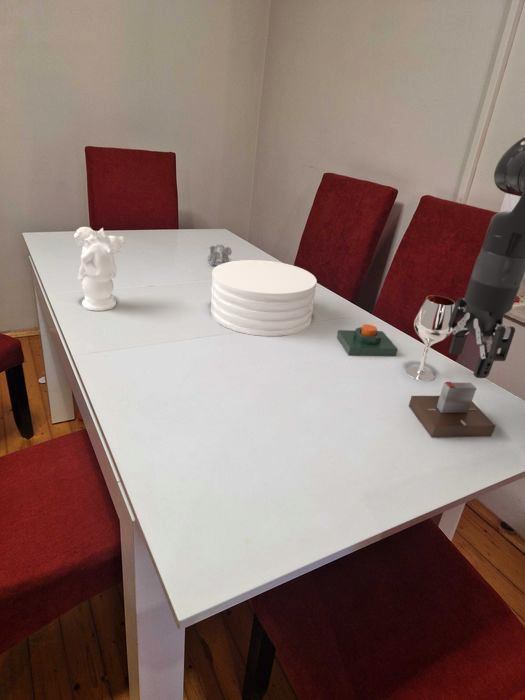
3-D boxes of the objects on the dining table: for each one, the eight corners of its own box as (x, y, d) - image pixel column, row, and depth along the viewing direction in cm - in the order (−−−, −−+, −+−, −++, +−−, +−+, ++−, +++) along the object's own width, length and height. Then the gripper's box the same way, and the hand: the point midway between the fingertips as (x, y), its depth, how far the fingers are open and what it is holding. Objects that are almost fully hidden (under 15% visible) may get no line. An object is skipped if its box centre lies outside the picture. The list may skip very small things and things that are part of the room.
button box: (380, 338, 119) (383, 324, 117) (395, 356, 110) (399, 342, 108) (336, 337, 117) (339, 323, 115) (348, 356, 108) (351, 341, 106)
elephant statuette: (225, 260, 170) (226, 240, 167) (239, 270, 161) (240, 248, 158) (202, 262, 166) (202, 241, 162) (215, 272, 157) (216, 250, 153)
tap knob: (462, 406, 87) (471, 381, 85) (468, 412, 86) (477, 387, 83) (436, 406, 86) (444, 381, 84) (441, 413, 85) (449, 387, 82)
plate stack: (331, 326, 123) (338, 286, 118) (242, 343, 109) (245, 299, 104) (275, 292, 144) (278, 256, 138) (194, 303, 129) (194, 264, 124)
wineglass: (420, 386, 98) (442, 309, 90) (393, 369, 104) (412, 295, 96) (445, 379, 102) (469, 305, 94) (418, 363, 108) (438, 291, 100)
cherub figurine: (75, 301, 123) (66, 219, 113) (118, 293, 131) (113, 216, 121) (93, 316, 115) (86, 230, 105) (138, 307, 123) (135, 226, 113)
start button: (372, 330, 114) (373, 324, 113) (377, 337, 110) (379, 330, 110) (358, 330, 113) (360, 324, 112) (363, 336, 110) (365, 330, 109)
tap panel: (463, 405, 92) (467, 394, 91) (491, 436, 84) (496, 424, 83) (408, 406, 91) (411, 394, 89) (431, 437, 82) (435, 425, 81)
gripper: (545, 295, 69) (509, 386, 76) (491, 267, 81) (464, 347, 88) (500, 293, 67) (468, 385, 75) (453, 264, 80) (429, 346, 87)
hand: (466, 364), depth 82 cm, fingers open, 8 cm apart
